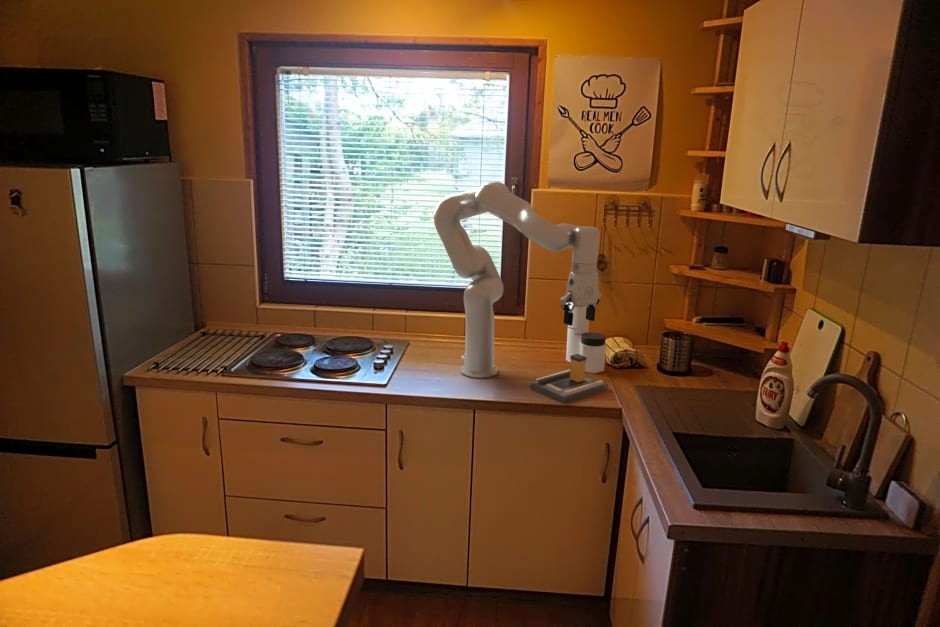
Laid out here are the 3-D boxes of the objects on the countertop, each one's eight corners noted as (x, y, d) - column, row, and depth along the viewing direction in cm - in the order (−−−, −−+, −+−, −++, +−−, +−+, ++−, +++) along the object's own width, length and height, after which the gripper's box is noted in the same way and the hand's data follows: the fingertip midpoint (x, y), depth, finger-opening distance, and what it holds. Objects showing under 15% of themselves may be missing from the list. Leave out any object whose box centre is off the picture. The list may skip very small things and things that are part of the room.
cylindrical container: (571, 356, 229) (575, 289, 222) (589, 360, 225) (594, 291, 218) (562, 361, 223) (565, 292, 217) (580, 365, 219) (584, 295, 213)
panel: (530, 388, 198) (530, 381, 198) (572, 375, 209) (573, 369, 209) (564, 403, 187) (564, 397, 186) (607, 389, 198) (607, 383, 197)
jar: (590, 375, 210) (592, 340, 207) (573, 367, 217) (575, 334, 213) (609, 370, 215) (611, 336, 212) (592, 363, 221) (594, 330, 218)
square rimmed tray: (535, 381, 198) (535, 378, 198) (571, 371, 207) (571, 368, 207) (566, 395, 187) (566, 392, 187) (603, 384, 197) (603, 381, 196)
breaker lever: (569, 378, 200) (570, 355, 198) (576, 376, 202) (577, 353, 200) (577, 382, 197) (579, 358, 195) (585, 380, 199) (586, 357, 197)
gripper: (572, 272, 182) (567, 329, 187) (612, 267, 192) (607, 321, 197) (554, 268, 188) (550, 323, 193) (594, 263, 198) (589, 315, 203)
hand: (579, 322), depth 195 cm, fingers open, 9 cm apart
